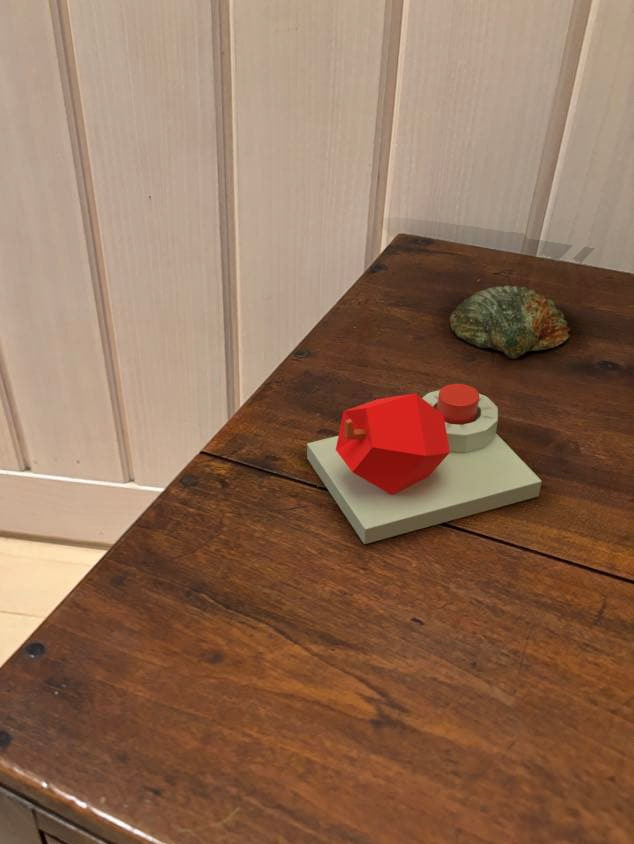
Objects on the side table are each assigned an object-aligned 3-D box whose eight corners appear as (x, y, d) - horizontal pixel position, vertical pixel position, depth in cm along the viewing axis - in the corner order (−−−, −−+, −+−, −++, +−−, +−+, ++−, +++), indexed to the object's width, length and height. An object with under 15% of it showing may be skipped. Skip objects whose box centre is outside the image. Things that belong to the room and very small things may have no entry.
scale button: (464, 400, 67) (467, 379, 66) (483, 420, 65) (487, 400, 64) (429, 408, 67) (431, 388, 65) (448, 429, 65) (450, 409, 63)
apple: (444, 369, 63) (345, 356, 59) (486, 440, 59) (383, 431, 55) (396, 441, 68) (301, 433, 64) (432, 511, 64) (334, 506, 60)
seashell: (574, 259, 79) (577, 318, 72) (568, 303, 82) (571, 363, 74) (454, 261, 81) (445, 318, 74) (452, 303, 84) (444, 362, 77)
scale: (467, 415, 70) (472, 381, 68) (543, 495, 63) (551, 460, 61) (304, 455, 68) (304, 422, 66) (364, 545, 60) (366, 510, 58)
